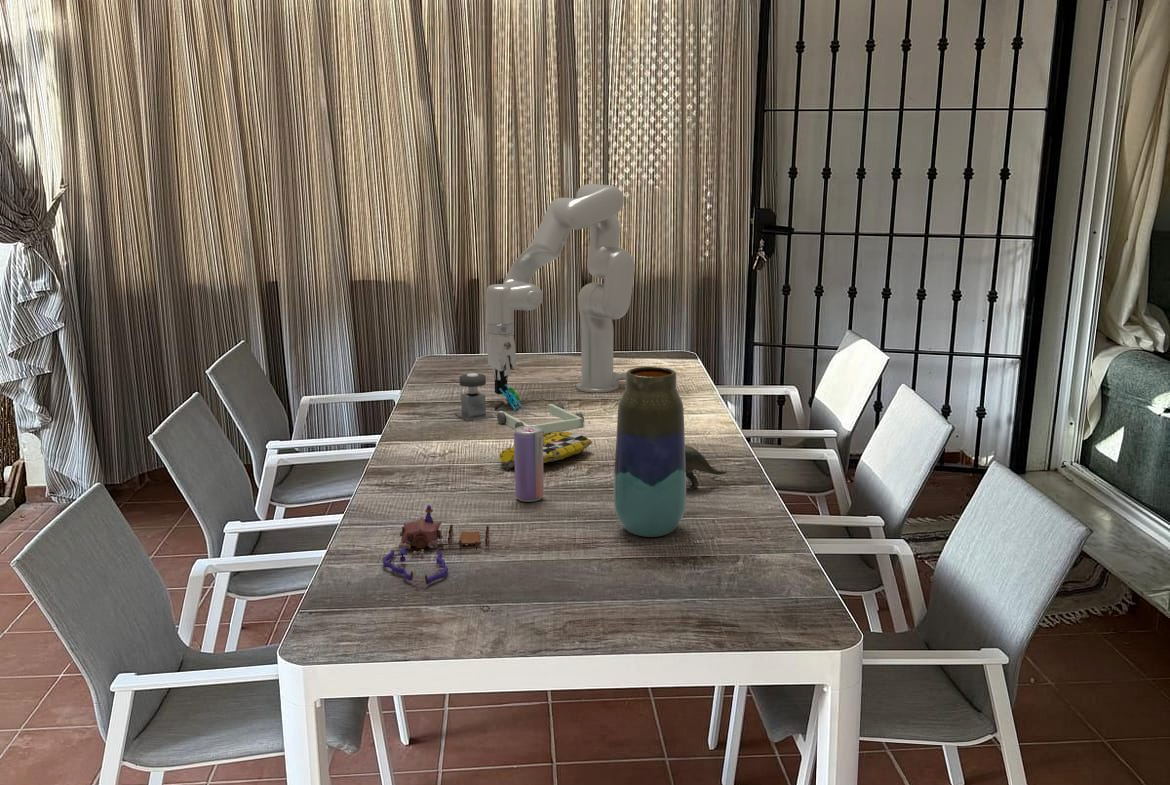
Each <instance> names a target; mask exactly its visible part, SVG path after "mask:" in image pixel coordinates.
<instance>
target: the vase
mask: <svg viewBox="0 0 1170 785" xmlns="http://www.w3.org/2000/svg"><path fill="white" fill-rule="evenodd" d="M625 373H626V379H625V389H624V391H623V393H622V396H621V398H620V399H619V402H618V405H617V406H618V408H617V422H616V438H615V456H614V474H613V505H614V512H615V514H616V515H615V516H616V517H617V519H618V521H619V522H620V525H622V527H623V528H624V529H625V530H626V531H627V532H628V533H630V534H632V535H635V536H639V537H645V538H646V537H647V538H655V537H662V536H665V535H668V534H670V533H672V532H673V531H674V530H675V529H676V528H677V527H678V525H679V524H680V523H681V521H682V519H683V517H684V514H685V510H686V504H687V477H686V461H685V445H686V439H685V438H686V437H685V435H686V434H685V413H684V412H685V411H684V402H683V400H682V398H681V395H680V394H679V392H678V388H677V372H676V371H675V370H674V369H671V368H668V367H661V366H660V367H659V366H642V367H641V366H639V367H633V368H631V369H628V370H626V372H625Z"/></svg>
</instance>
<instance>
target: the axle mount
mask: <svg viewBox="0 0 1170 785" xmlns="http://www.w3.org/2000/svg"><path fill="white" fill-rule="evenodd" d="M477 392H478V393H476V394H469V392H466V393H465V392H464V393H460V402H461V404H460V405H461V411H458V412H454V415H455V416H456V417H458V418H460V419H462V420H463V421H464V422H470V421H476V420H485V419H491V418H494V415H493V414H492V413H490V412H488V411H487V410H486V409H487V408H486V407H487V406H486V403H487V402H486V394H483V393H482V392H479V391H477Z"/></svg>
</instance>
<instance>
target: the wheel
mask: <svg viewBox="0 0 1170 785" xmlns="http://www.w3.org/2000/svg"><path fill="white" fill-rule="evenodd" d="M486 380H487V379H486V375H485V374H481V373H476V372H475V373H474V372H471V373H466V374H461V375H460V376H459V386H462V387H466V388H468V393H469V394H476V393H478V392H479V391H478V387H482V386H485V385H486V384H487V382H486Z"/></svg>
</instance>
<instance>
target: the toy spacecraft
mask: <svg viewBox="0 0 1170 785" xmlns="http://www.w3.org/2000/svg"><path fill="white" fill-rule="evenodd" d="M591 445H592V441H591V440H590V438H588V437H586V436H583V435H582V434H579V433H573V432H570V431H558V432H550V433H546V434H545V433H543V464H544V463H548V462H556V461H559V460H564V459H565V458H568V457H571V456H575V458H576V459H577V460H578V459H580V456H581V457H585V455H584V454H583V453H582V452H583V451H584V450H585V449H587V448H588V447H589V446H591ZM579 455H580V456H579ZM499 459H500V461H501V462H502V464H503V465H504V466H503V470H504V471H509V470H512V469H515V458H514V445H513V446H511V447H507V448H505V449H503V450H502V451H501V452H500V453H499Z"/></svg>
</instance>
